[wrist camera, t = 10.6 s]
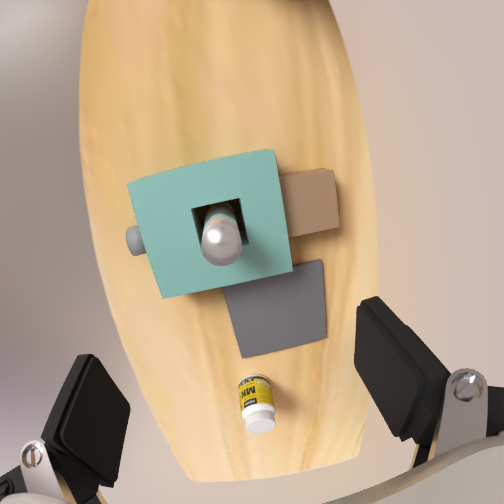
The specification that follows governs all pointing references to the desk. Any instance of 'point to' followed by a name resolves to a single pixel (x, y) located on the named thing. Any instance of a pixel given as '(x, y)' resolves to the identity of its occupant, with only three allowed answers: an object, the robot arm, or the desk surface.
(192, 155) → the desk surface
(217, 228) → the steel pin
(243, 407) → the supplement bottle
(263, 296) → the rubber mat
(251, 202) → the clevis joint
